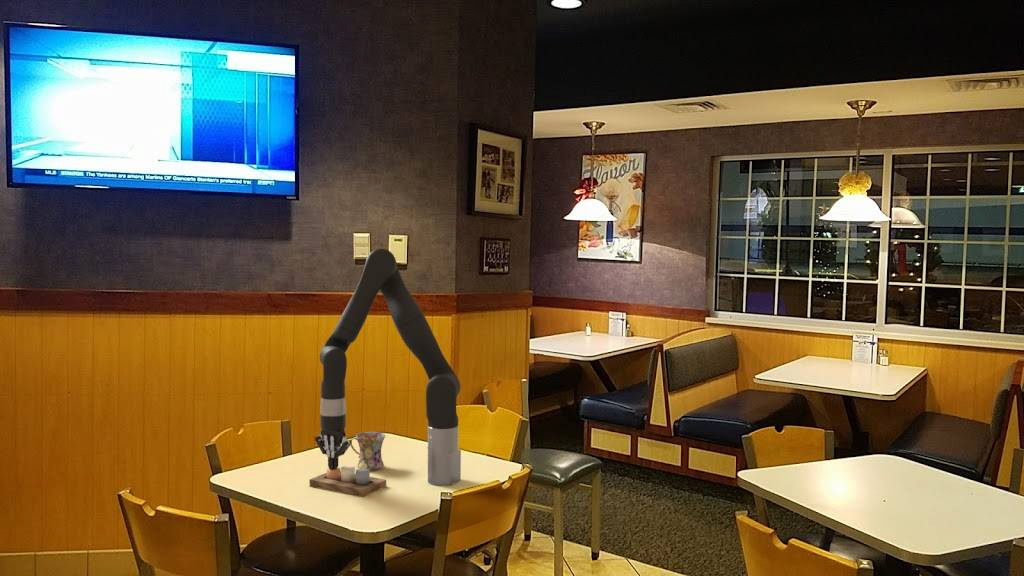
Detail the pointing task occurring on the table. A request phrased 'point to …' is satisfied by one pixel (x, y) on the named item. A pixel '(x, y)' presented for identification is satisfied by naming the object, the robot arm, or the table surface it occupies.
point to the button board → (347, 485)
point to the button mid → (347, 474)
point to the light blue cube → (362, 477)
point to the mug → (369, 450)
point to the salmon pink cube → (333, 474)
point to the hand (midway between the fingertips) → (333, 468)
